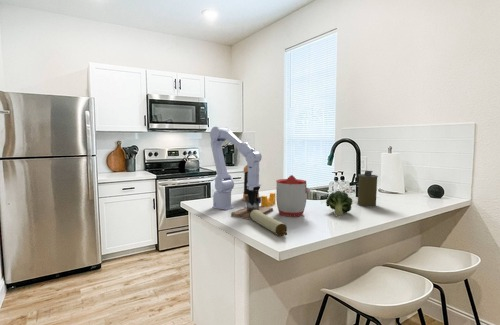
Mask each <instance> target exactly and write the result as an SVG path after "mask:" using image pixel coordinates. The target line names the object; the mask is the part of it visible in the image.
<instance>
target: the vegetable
mask: <svg viewBox="0 0 500 325" xmlns="http://www.w3.org/2000/svg"><path fill="white" fill-rule="evenodd" d="M325 201H326V202H325V204H326V207H330V209H331V210H334V213H333V214H334V216H335V217H339V216H340V217H342V216H343V214H345V213H348V212H350V211H351V210H352V204H353V198H351V197H350V196H349V194H348V193H347V192H345V191H340V190H336V191H335V192H331V193H329V194H328V197H327V199H326V200H325Z"/></svg>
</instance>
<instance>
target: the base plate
mask: <svg viewBox="0 0 500 325" xmlns="http://www.w3.org/2000/svg"><path fill="white" fill-rule="evenodd" d="M259 211H261V212H262V213H263V214H265V215H268V214H269V213H272V212H273V211H274V208H273V207H271V206H269V207H262V206H261V205H259ZM249 213H250V211H247V206H246V207H243V208H240V209H238V210H236V211H233V212H231V217H235V218H241V219H247V220H252V219H251V218H250V217H249Z"/></svg>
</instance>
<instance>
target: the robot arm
mask: <svg viewBox="0 0 500 325" xmlns="http://www.w3.org/2000/svg"><path fill="white" fill-rule="evenodd" d="M209 136H210V147H211V151H212V155H213V160H214V164H215V170H216V174H217V175H216V176H215V178H214V182H215V183H214V188H215V190H216V191H214V193H213V196H212V197H213V198H212V200H213V201H212V202H213V204H212V208H213V209H219V210H226V211H228V210H230V209H232V208H234V207H235V205H232V191H233V189H234V187H235V183H234V181H233V178H232V176H231V175H230V174H229V173H228V170H227V165H226V161H225V156H224V152H223V146H222V145H223V143H224V142H226V141H229V142H230V143H231V144H233V145H234V147H237V151H238V153H240V154H241V155H242V156H243V157H244V158H245V161H246V165H248V184H247V186H248V187H249V189H246V192H247V194H248V198H249V203H250V204H254V202H255V196H257V195H258V191H260V188H261V187H262V183H260V162H261V160H262V154H261V152H260V151H258V150H255V151H254V149H255V148H254V147H251V146H250V145H249V143H248V142H247V141H246V142H245V141H241V140H240V139H239V138H238V137H237V136H236V134H234V132H232V130H231V129H230V128H229V127H227V126H213V127H212V128H211V130H210V132H209ZM253 148H254V149H253Z"/></svg>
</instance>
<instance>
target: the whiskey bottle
mask: <svg viewBox="0 0 500 325" xmlns="http://www.w3.org/2000/svg"><path fill="white" fill-rule="evenodd" d="M252 148H253V149H254V151H256V150H255V148H254V147H252ZM243 174H244V175H243V176H244V178H243V181H244V182H243V194H242V201H243V202H246V195H248V194H247V192H246V189H249V187H248V186H247V184H248V165H247V164H246V165H245V166H244V167H243ZM259 191H260V190H259ZM259 191H258V195H257V197H260V192H259Z"/></svg>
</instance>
